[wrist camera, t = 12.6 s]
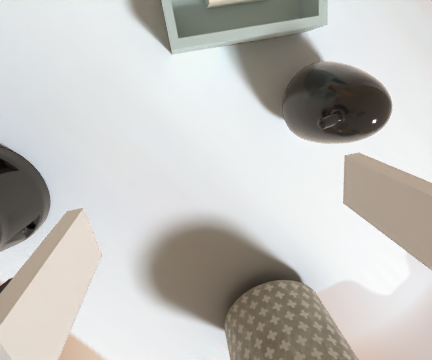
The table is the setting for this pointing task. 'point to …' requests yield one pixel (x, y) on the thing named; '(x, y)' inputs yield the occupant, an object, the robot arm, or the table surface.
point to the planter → (283, 325)
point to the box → (237, 21)
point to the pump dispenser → (335, 104)
